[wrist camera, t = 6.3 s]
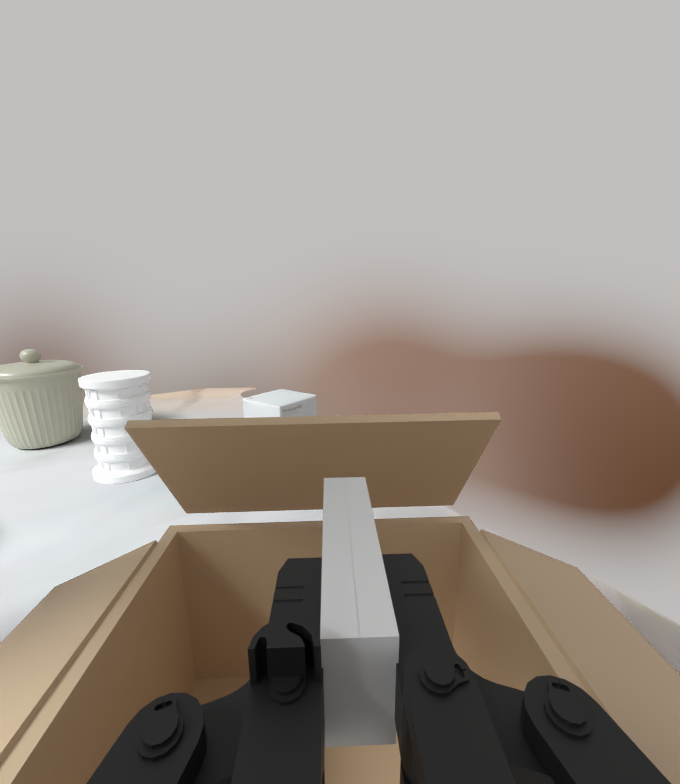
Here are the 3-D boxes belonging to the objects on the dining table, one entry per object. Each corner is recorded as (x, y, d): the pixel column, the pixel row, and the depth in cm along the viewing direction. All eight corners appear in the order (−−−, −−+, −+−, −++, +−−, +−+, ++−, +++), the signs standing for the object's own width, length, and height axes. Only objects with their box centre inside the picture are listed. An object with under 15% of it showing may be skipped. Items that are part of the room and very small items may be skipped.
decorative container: (170, 454, 75) (159, 368, 71) (154, 480, 64) (140, 379, 60) (108, 460, 73) (93, 371, 68) (80, 487, 62) (60, 383, 57)
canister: (-30, 456, 75) (-57, 354, 70) (44, 427, 93) (27, 345, 88) (52, 457, 74) (31, 354, 69) (112, 428, 92) (98, 344, 87)
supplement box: (283, 497, 58) (278, 406, 54) (246, 481, 63) (240, 397, 60) (320, 475, 65) (318, 394, 61) (284, 463, 70) (280, 387, 67)
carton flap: (452, 505, 27) (501, 419, 19) (186, 513, 26) (124, 428, 19) (451, 498, 27) (498, 412, 20) (188, 506, 27) (127, 420, 19)
